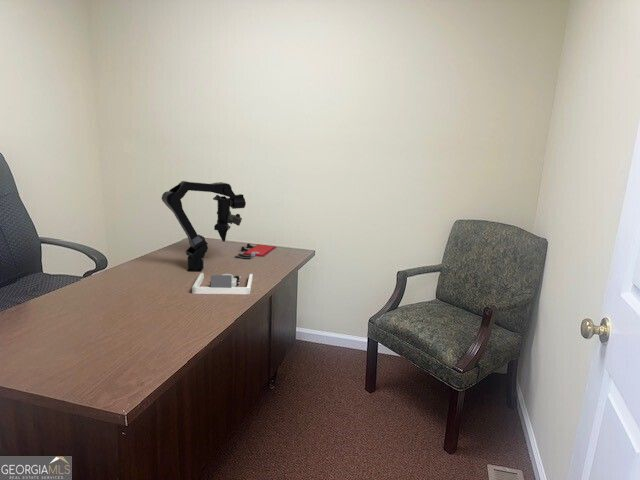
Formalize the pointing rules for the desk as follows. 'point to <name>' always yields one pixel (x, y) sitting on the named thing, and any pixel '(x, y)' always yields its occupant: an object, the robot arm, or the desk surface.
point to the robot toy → (233, 280)
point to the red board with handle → (255, 251)
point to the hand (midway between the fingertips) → (223, 241)
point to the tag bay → (220, 285)
